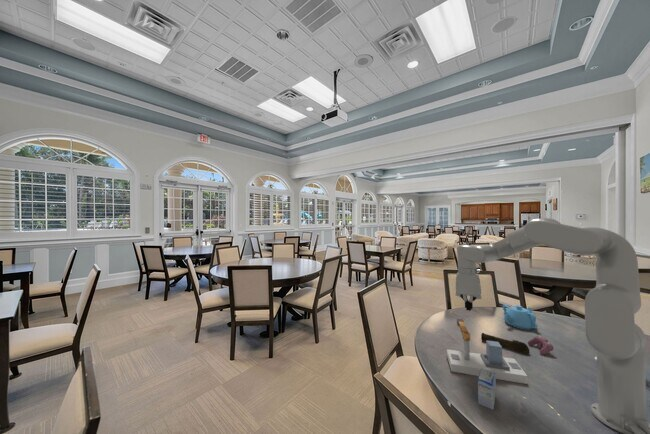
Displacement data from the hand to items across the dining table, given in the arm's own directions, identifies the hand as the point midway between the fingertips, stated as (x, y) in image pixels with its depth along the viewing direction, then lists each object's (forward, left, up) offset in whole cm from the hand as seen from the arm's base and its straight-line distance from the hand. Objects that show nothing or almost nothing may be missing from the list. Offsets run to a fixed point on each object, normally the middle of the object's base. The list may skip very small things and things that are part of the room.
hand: (468, 309), depth 115 cm
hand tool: (+10, -17, -20) cm, 28 cm away
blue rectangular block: (-13, -6, -17) cm, 22 cm away
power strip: (-13, -2, -20) cm, 24 cm away
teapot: (+41, -34, -20) cm, 57 cm away
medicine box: (-33, +2, -20) cm, 39 cm away
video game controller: (+11, -32, -20) cm, 39 cm away
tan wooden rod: (-6, +4, -8) cm, 11 cm away
